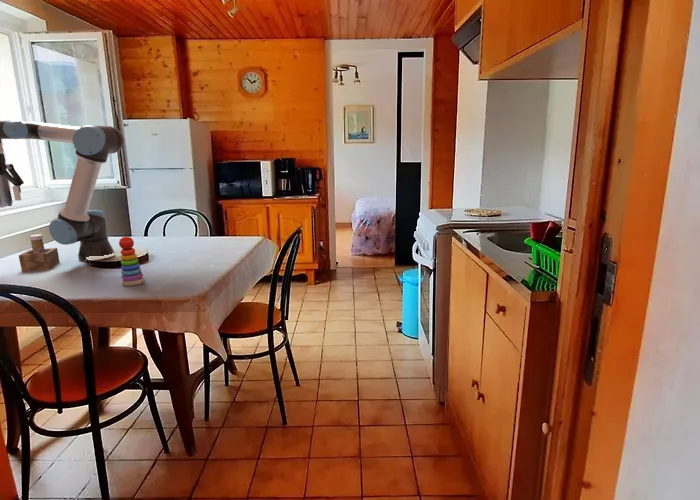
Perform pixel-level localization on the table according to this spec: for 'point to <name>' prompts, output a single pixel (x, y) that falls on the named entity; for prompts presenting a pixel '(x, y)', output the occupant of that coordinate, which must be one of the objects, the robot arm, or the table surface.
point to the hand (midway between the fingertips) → (3, 202)
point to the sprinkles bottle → (37, 243)
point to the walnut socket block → (39, 260)
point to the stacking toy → (130, 263)
